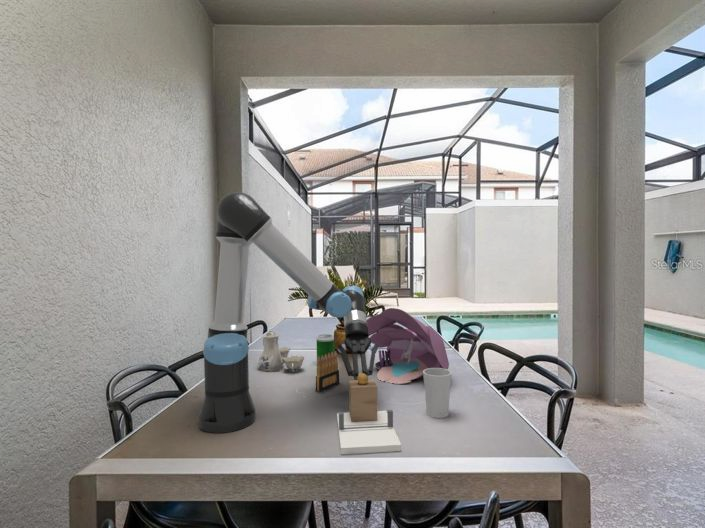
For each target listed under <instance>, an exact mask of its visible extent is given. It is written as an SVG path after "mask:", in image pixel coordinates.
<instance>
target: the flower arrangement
mask: <svg viewBox="0 0 705 528" xmlns="http://www.w3.org/2000/svg"><path fill="white" fill-rule="evenodd" d="M367 327H368V335H369V339H370V340H371V343H373V344H378V349H379V348H380V349H379V350H378V358H379V361H377V362H376V363H374V366H375V367H376V369H378V372H377V373H376V374H377V375H376V377H377V379H378V380H379V381H380V380H381V381H380V382H384V381H388V382H390V383H389V384H392V383H394V384H399V385H402V384H408V383H411V382H412V380H415V379H418V378H421V377H423V370H425V369H428V368H442V369H447V370H449V367H450V364H449V363H450V362H449V358H448V354H447V350H446V346H445V342H444V338H443V337H442V335H440V334H439V333H438V332H437V331H436V330H435V328H433V327H432V326H431V325H425V323H423V322H421V321H420V320H418V319H417V318H415V317H413V316H412V315H410V314H409V313H408V312H406V311H404V310H402V309H400V308H394V307H391V308H386V309H384V310H383V311H381V312H380V313H378V314H375V315H372V316H371V317H369V318H367ZM381 348H386V350H384V349H382V350H381Z"/></svg>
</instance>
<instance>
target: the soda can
mask: <svg viewBox="0 0 705 528" xmlns="http://www.w3.org/2000/svg"><path fill="white" fill-rule="evenodd" d="M332 352H333V354H334V353H335V337H334V336H333V335H332V334H325V333H324V334H319V335H318V336H317V337H316V361H317V360H318V356H319V357H320V360H321V356H322V355H323V357H325V354H326V355H327V358H328V353H330V357H331V353H332Z"/></svg>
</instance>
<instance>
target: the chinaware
mask: <svg viewBox="0 0 705 528" xmlns="http://www.w3.org/2000/svg"><path fill="white" fill-rule="evenodd" d="M279 335H280V334H277V333H275V332H274V331H273V330H272V328H270V329H269V331H268V332H267V333H266V334H264V335H262V337H263V338H262V343H263V351H262V354H261V355H260V357H259V359H258V363H257V364H258V366H259V367H260V370H261V369H262V370H261V371H263V370H265V371H264V372H275V371H274V370H276V371H279V370H281V369H283V365H285V367H286V368H287V369H288V370H289V371H291V372H290V373H297V372H299V369H301V367H302V366H303V363H304V360H305V356H303V355H301V356H298V355H296V354H294V355H290V356H289V352H290V351H291V348H288V347H287V346H283V347H279V341H278V340H279ZM296 371H297V372H296Z"/></svg>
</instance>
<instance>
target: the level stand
mask: <svg viewBox="0 0 705 528" xmlns="http://www.w3.org/2000/svg"><path fill="white" fill-rule="evenodd" d="M336 420H337V421H336V422H337V429H338V440H339V447H340V455H356V454H357V455H359V454H373V453H390V452H392V453H394V452H402V443H401V441H400V438H399V437H398V434H397V432H396V429H395V428H394V411H393V409H387V410H379V411H378V410H377V420H369V421H351V418H350V413H349V412H344V411H342V412H341V411H339V412H337V413H336Z"/></svg>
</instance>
